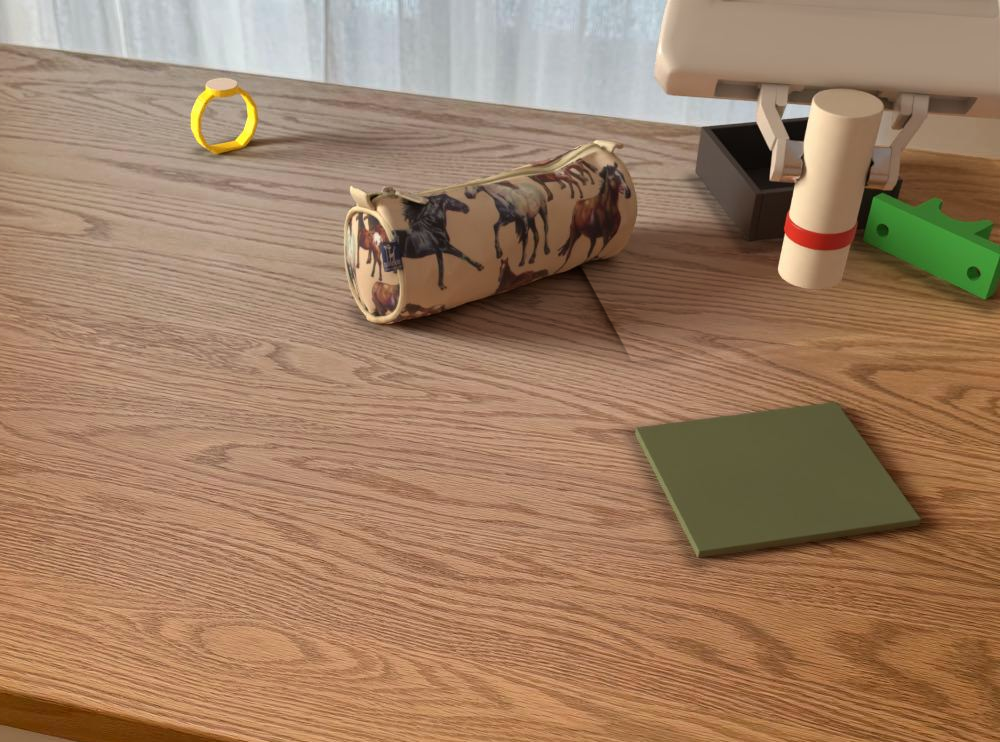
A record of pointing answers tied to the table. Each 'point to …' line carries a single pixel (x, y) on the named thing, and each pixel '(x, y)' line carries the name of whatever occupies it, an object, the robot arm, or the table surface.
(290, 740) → the table surface
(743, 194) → the bin
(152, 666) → the table surface
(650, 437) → the mat
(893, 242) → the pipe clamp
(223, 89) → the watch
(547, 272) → the pencil case
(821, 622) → the table surface
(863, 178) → the red-banded cream cylinder
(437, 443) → the table surface
